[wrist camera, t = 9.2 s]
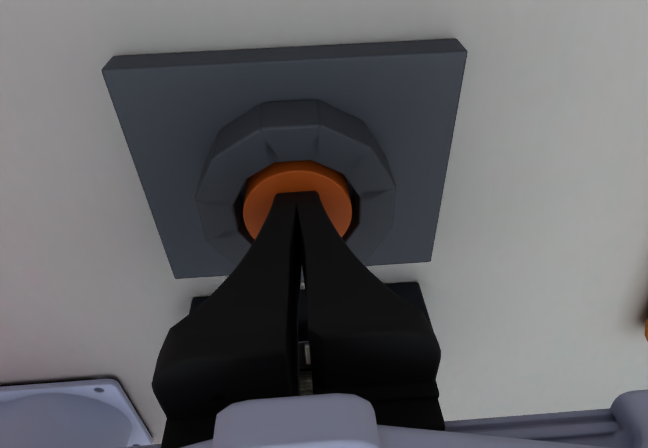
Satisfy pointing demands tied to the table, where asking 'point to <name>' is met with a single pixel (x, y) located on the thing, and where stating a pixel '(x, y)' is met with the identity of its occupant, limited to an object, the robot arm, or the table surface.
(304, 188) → the button
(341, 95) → the button housing
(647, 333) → the multimeter
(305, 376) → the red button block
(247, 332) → the robot arm
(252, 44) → the table surface
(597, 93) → the table surface
